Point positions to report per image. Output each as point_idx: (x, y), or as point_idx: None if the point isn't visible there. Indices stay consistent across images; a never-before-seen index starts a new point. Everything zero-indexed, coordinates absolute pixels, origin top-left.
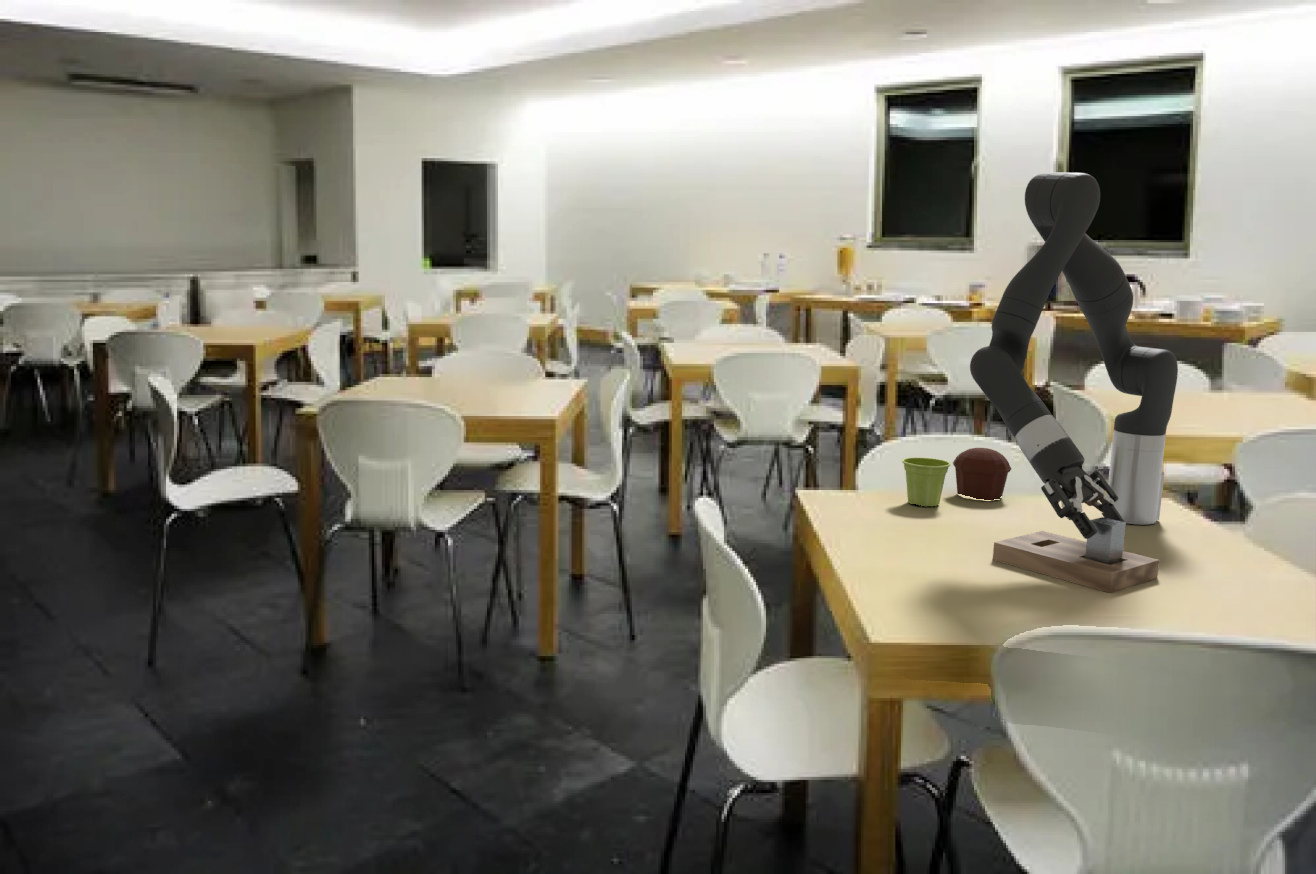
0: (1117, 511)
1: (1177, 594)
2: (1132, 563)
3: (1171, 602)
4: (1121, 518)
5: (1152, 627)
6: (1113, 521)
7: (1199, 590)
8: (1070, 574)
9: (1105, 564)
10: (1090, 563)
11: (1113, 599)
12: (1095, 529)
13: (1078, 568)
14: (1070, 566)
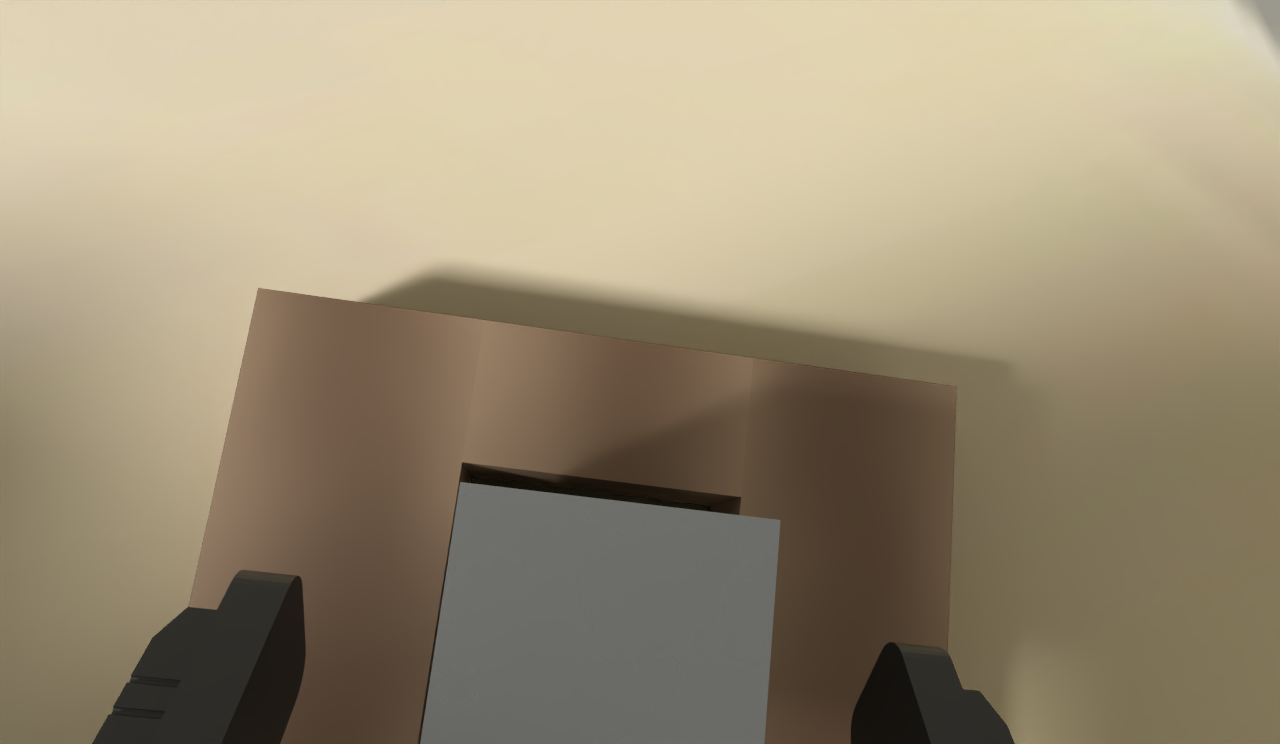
0: (155, 735)
1: (576, 119)
2: (549, 395)
3: (768, 96)
4: (229, 635)
5: (1247, 38)
6: (536, 615)
7: (374, 52)
8: None
9: None
10: (829, 624)
11: (995, 345)
12: (920, 656)
13: None
14: None
